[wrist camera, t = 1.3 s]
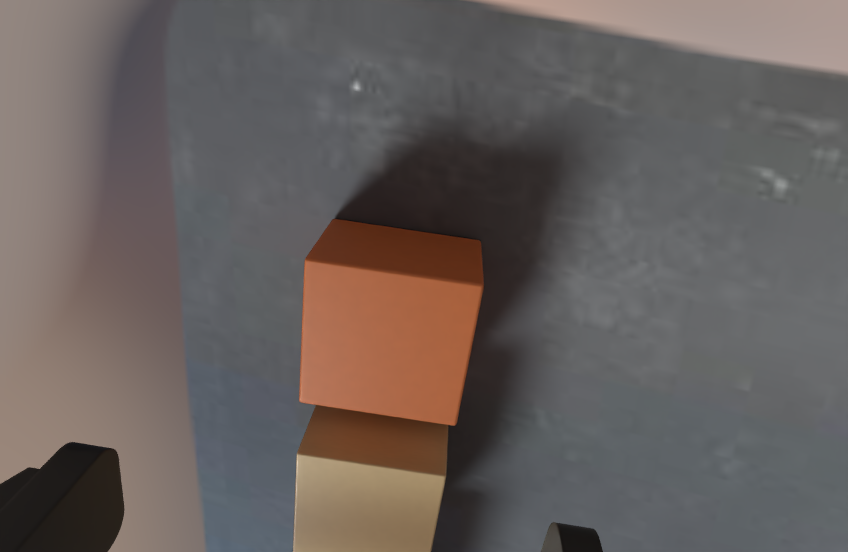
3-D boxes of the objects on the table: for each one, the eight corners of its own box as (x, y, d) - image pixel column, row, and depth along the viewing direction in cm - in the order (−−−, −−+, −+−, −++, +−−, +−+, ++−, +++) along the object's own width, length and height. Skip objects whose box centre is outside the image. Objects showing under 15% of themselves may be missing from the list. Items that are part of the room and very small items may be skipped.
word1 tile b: (321, 389, 19) (296, 453, 16) (449, 408, 19) (446, 476, 16) (316, 483, 21) (292, 555, 18) (431, 501, 21) (426, 576, 18)
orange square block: (332, 217, 16) (304, 258, 14) (481, 239, 16) (484, 284, 14) (324, 344, 18) (298, 403, 16) (457, 364, 18) (456, 427, 16)
